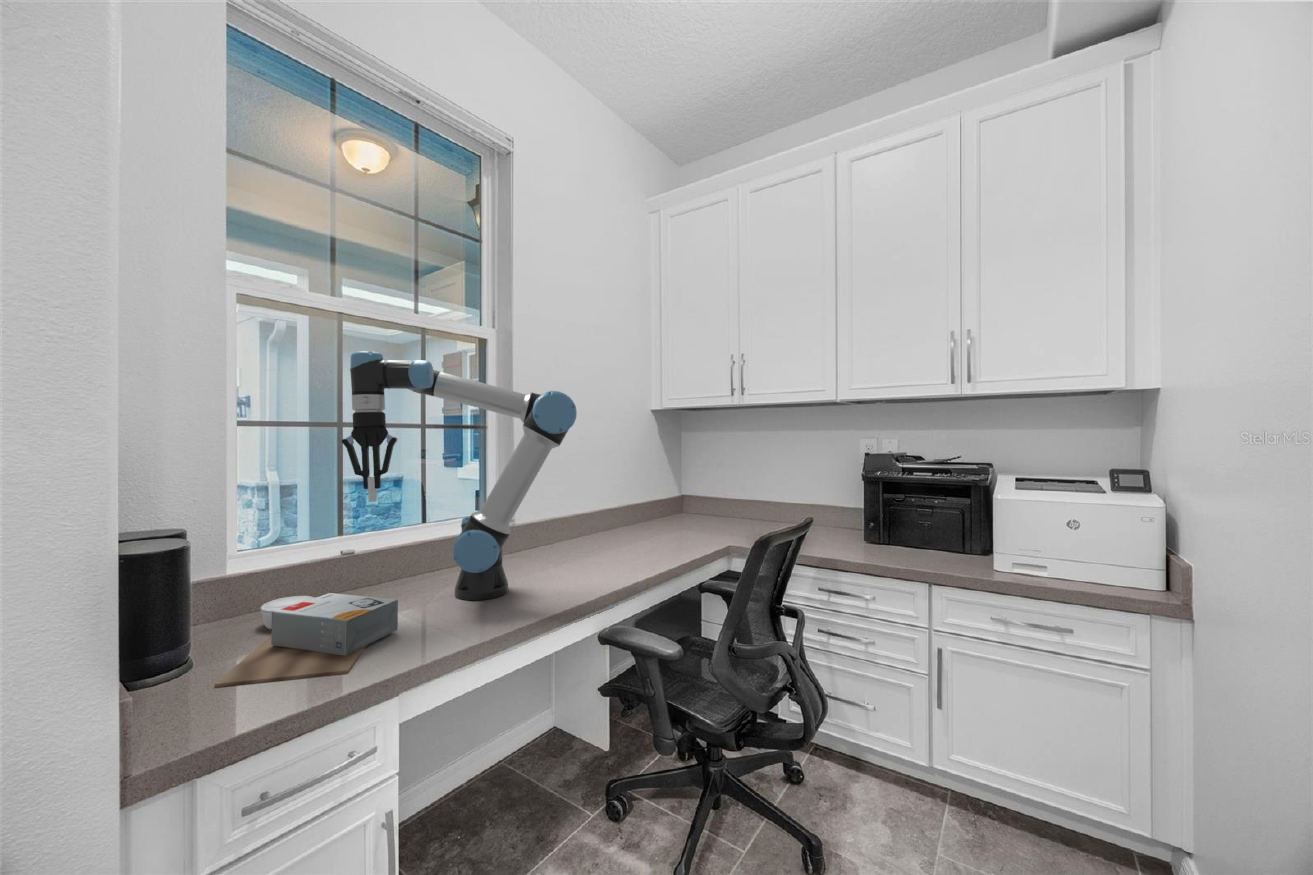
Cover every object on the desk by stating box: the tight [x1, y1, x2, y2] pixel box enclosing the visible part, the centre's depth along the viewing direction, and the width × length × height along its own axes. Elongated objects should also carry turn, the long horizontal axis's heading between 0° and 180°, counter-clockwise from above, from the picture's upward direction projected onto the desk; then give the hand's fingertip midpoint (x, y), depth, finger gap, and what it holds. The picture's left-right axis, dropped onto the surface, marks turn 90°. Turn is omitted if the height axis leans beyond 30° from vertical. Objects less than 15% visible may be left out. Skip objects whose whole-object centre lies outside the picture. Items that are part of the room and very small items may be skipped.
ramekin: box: [260, 595, 315, 630], centre depth 129 cm, size 11×11×5 cm
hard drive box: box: [270, 592, 399, 656], centre depth 118 cm, size 16×8×20 cm
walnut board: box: [214, 635, 367, 688], centre depth 111 cm, size 22×24×1 cm
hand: (372, 501), depth 136 cm, fingers closed
